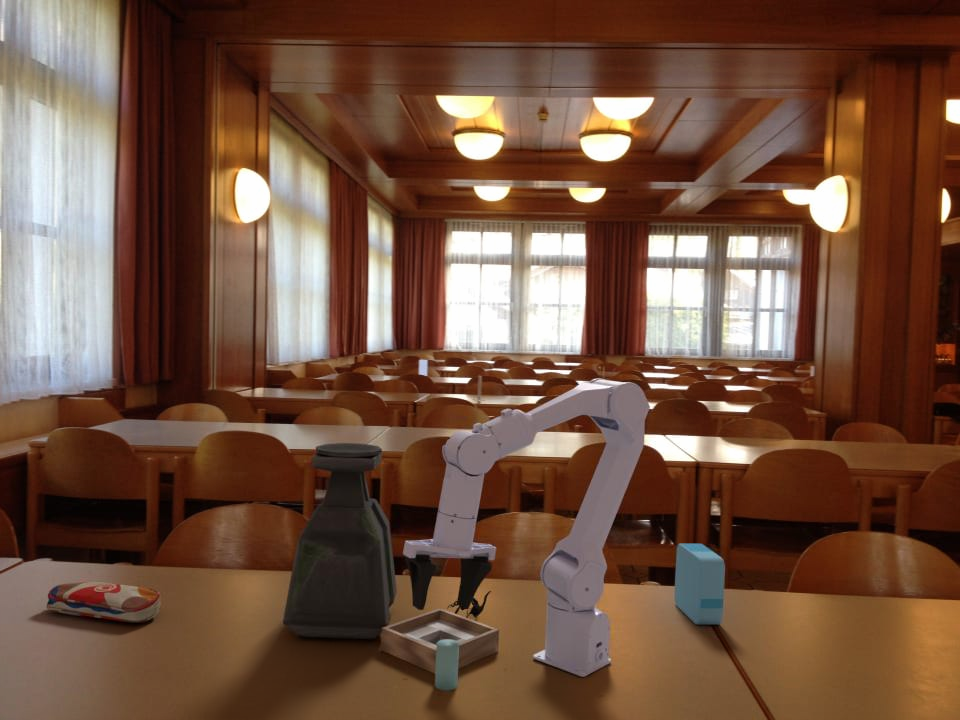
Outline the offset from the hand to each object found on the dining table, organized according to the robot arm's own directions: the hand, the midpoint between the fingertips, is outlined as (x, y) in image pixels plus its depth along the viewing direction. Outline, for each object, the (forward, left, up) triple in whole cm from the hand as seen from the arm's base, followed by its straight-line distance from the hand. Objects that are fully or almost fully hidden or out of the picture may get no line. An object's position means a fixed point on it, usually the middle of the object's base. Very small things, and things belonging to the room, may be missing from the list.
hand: (440, 607), depth 114 cm
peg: (-2, +1, -10) cm, 11 cm away
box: (+7, -7, -10) cm, 14 cm away
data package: (-14, -53, -11) cm, 56 cm away
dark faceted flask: (+26, -3, -11) cm, 28 cm away
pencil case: (+56, +23, -11) cm, 62 cm away
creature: (+14, -21, -11) cm, 28 cm away
